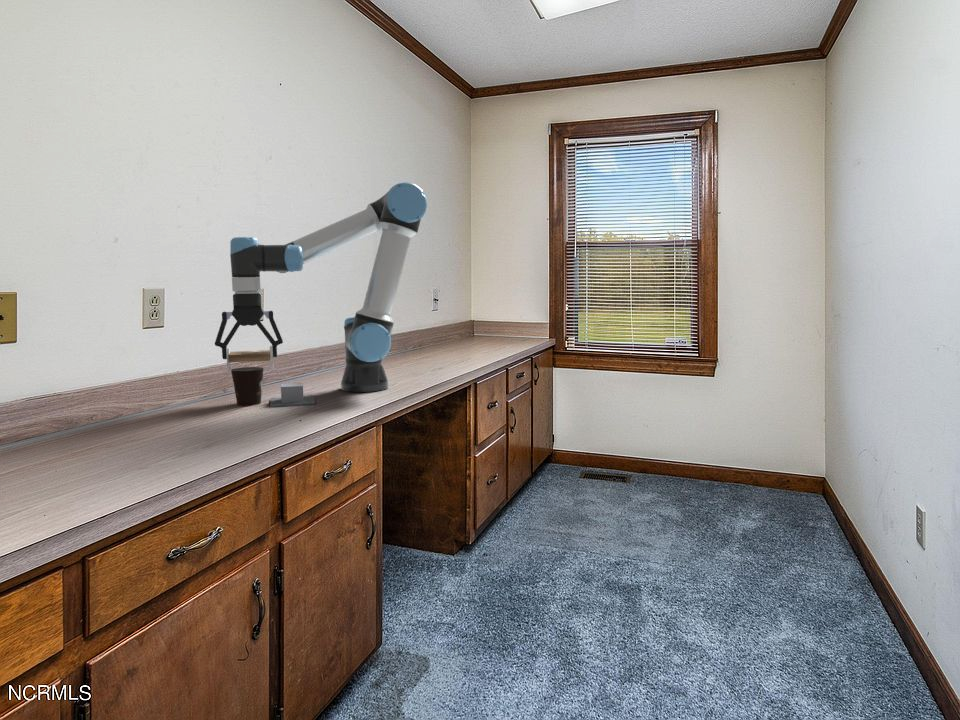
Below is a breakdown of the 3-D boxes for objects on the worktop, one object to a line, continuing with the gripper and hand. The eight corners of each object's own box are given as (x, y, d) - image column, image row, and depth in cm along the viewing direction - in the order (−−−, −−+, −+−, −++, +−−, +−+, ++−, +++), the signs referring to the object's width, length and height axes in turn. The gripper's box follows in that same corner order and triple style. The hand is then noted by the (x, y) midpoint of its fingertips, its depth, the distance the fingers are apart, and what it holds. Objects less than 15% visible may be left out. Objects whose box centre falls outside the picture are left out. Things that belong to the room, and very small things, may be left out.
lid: (270, 360, 181) (269, 352, 181) (228, 362, 178) (228, 354, 177) (270, 356, 191) (270, 349, 191) (231, 358, 188) (230, 350, 188)
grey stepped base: (312, 397, 193) (312, 380, 192) (315, 404, 181) (314, 386, 181) (270, 399, 189) (269, 383, 189) (270, 407, 178) (269, 389, 177)
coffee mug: (254, 406, 179) (252, 371, 178) (226, 406, 180) (224, 370, 179) (275, 399, 190) (274, 365, 189) (249, 398, 192) (247, 365, 191)
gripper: (289, 292, 189) (292, 366, 192) (203, 293, 182) (208, 370, 185) (290, 292, 182) (293, 369, 185) (200, 293, 175) (205, 373, 178)
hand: (250, 369), depth 185 cm, fingers closed on lid, 11 cm apart
